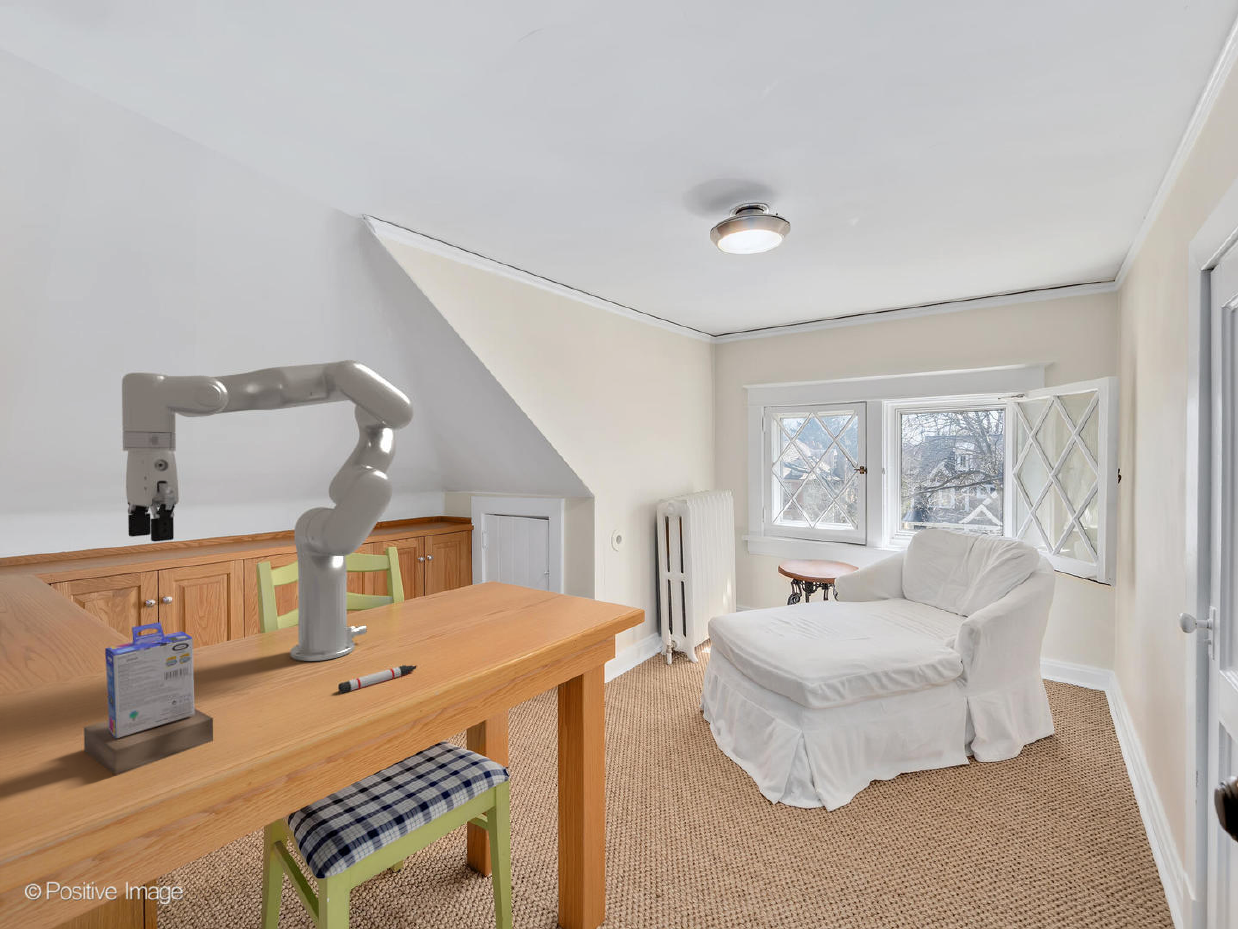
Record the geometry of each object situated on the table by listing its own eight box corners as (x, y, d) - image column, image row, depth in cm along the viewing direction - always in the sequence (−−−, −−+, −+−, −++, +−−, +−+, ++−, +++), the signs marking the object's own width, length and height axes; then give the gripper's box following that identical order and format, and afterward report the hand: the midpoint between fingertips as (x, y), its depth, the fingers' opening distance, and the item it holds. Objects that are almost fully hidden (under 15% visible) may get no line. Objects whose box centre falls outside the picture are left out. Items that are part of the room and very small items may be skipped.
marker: (343, 695, 111) (343, 684, 111) (338, 692, 112) (338, 682, 112) (419, 673, 122) (419, 663, 122) (414, 670, 124) (414, 660, 124)
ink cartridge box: (184, 705, 97) (182, 615, 96) (197, 715, 94) (195, 622, 93) (105, 728, 89) (102, 631, 88) (115, 740, 86) (113, 639, 85)
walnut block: (178, 723, 100) (178, 699, 100) (213, 744, 93) (212, 718, 93) (84, 754, 90) (84, 727, 90) (116, 779, 83) (115, 750, 83)
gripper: (195, 443, 107) (196, 540, 108) (154, 442, 117) (155, 531, 117) (144, 442, 101) (145, 545, 102) (105, 442, 111) (106, 536, 111)
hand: (150, 538), depth 109 cm, fingers open, 9 cm apart
